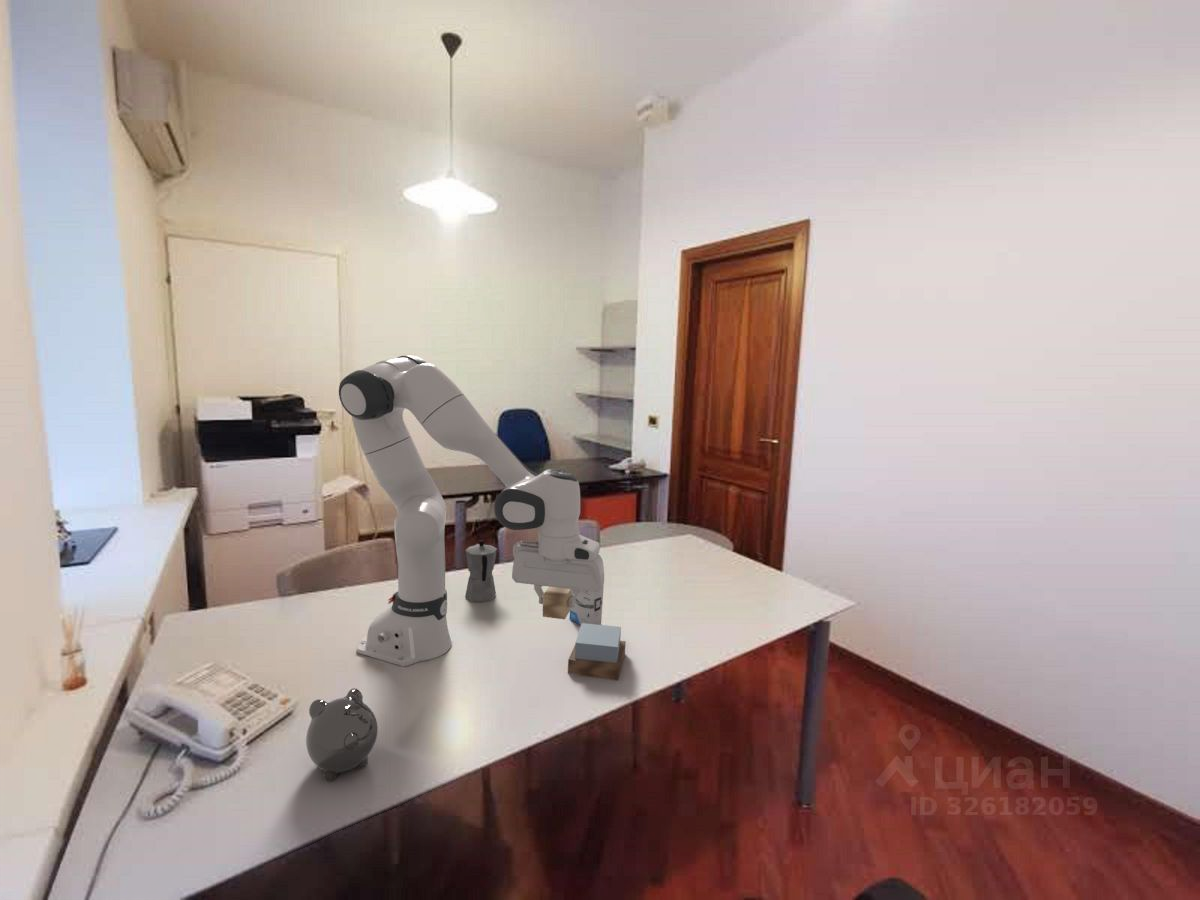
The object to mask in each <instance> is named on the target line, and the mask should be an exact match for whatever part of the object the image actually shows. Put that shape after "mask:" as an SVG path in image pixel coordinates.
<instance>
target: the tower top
mask: <svg viewBox="0 0 1200 900" xmlns="http://www.w3.org/2000/svg"><path fill="white" fill-rule="evenodd" d="M621 633H622V626H614V625H607V624H606V625H604V624H601V625H597V624H587V623H581V625H580V628H579V631H578V634H577V637H576V640H575V644H574V646H575V659H584V660H594V661H603V662H612V663H617V659H618V653H619V646H620V641H621V637H622V635H621Z"/></svg>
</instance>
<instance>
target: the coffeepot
mask: <svg viewBox="0 0 1200 900" xmlns="http://www.w3.org/2000/svg"><path fill="white" fill-rule="evenodd" d="M497 551H498V548H497V547H495V546H493V545H491V544H485V540H484V539H480V540H478V543H476V544H475V545H471V546H468V547H467V548H466V549H465V556H466V562H467V569H468V572H469V577H468V580H467V586H466V591H465V596H464V597H465V598H466V599H467V600H468V601H470V602H474V603H484V602H489V601H492V600H494V598H495V597H496V594H497V593H496V585H495V581H494V574H493V570H494V569H495V568H494V567H495V561H496V557H497Z"/></svg>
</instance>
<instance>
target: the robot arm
mask: <svg viewBox="0 0 1200 900" xmlns="http://www.w3.org/2000/svg"><path fill="white" fill-rule="evenodd" d="M338 397H339V401H340V403H341V406H342V407H343V409H344V410H345V411H346V412H347V413H348V415H350V416H351V420H352V424H353V428H354V431H355V435H356V438H357V440H358V443H359V445H360V448H361V450H362V453H363V455H364V457H365V459H366V461H367V463H368V465H369V467H370V469H371V471H372V473H373V476H374V477H375V480H376V481H377V483H378V486H379V487H381V488H382V490H383V491H385V493H386V494H387V497H388V498H389V499H390V500H391V502H392V504H393V505H394V507H395V509H396V511H397V514H396V517H395V519H394V523H393V526H394V527H393V528H394V541H395V550H396V551H395V552H396V557H397V558H396V559H397V581H398V583H397V584H398V585H397V586H398V588H397V589H398V590H397V591H396V592H395V593H393V594H392V596H391V597H389V598H388V599H387V600H388V603H387V604H388V605H389V604H392V605H391V606H390V607H388V608H387V609H386V610H384V611H383V612H382V613H380V614H378V616H376V617H375V618H374V619H373V620H372V622H371V623H370V625H369V626H368V629H367V634H366V635H364V636H363V637H362V638H361V639H360V640H359V642H358V644H357V648H356V653H358V654H360V655H364V656H368V657H371V658H373V659H378V660H381V661H385V662H388V663H391V664H394V665H398V666H401V667H406V666H410V665H412V664H415V663H419V662H423V661H427V660H432V659H435V658H437V657H440V656H442V655H443V654H445V653H447V652H448V651H449V650H450V648H451V647H452V639H451V636H450V633H449V628H448V621H447V620H448V619H447V613H448V592H447V590H446V553H445V551H446V549H445V547H446V546H445V526H446V517H447V504H446V502H445V500H444V497H443V496H442V494H441V492H440V490H439V488H438V487H437V485H436V483H435V482H434V479H433V478H432V476H431V475H430V472H429V471H428V469H427V468H426V466H425V464H424V462H423V460H422V457H421V455H420V453H419V450H418V448H417V447H416V445H415V442H414V440H413V438H412V435H411V433H410V431H409V428H408V427H407V426H406V423H405V421H404V417H403V415H404V411H405V409H406V410H408V411H409V412H411V414H412V415H413V416H414V417H415V419H416V420H417V421H418V422H419V424H420V425H421V426H422V427H423V429H424V430H425V432H426V433H427V434H428V435H429V436H430V437H431V438H432V439H433V440H434V441H435V442H437V444H438V445H440V446H441V447H442V448H444V449H446V450H449V451H456V452H461V453H465V454H470V455H472V456H475V457H476V458H478V459H480V460H481V461H482V462H483V463H485V465H486V466H487V467H488V468H489V469H490V471H492V472H493V473H494V474H495V476H496V477H497V478H498V479H499V480H500V481H501V482H502V483H503V485H505V488H504V489H503V490H502V491H500V493H499V494H498V495H497V496H496V498H495V500H494V505H493V511H494V515H495V518H496V520H497V522H499V523H500V525H502V526H503V527H504V528H506V529H508V530H510V531H511V530H512V531H524V530H533V529H538V541H526V540H519V541H518V542H516V543H514V545H513V547H512V556H513V558H514V559H513V565H512V570H511V571H512V573H511V578H512V580H513V581H514V582H515V583H517V584H518V583H519V584H525V585H533V589H534V591H535V593H536V595H537V597H538V603H539V605H543V594H544V593H545V592H544V590H543V588H542V587H558V588H566V589H573V594H575V595H574V596H573V597H569V599H568V600H567V603H568V604H567V607H571V608H574V607H575V603H576V598H577V596H578V595H579V593H580V591H581V590H583V591H591V592H599V591H600V590H601V589H602V587H603V586H604V584H605V566H604V561H603V558H602V557H601V555H600V554H599V553H600V548H601V545H600V542H598V541H595V540H593V539H591V538H588V537H586V536H584V535H581V534H580V526H579V517H580V515H581V488H580V484H579V480H578V478H577V477H576V476H575V475H574V474H572V473H571V472H569V471H565V470H562V469H557V468H556V469H555V468H549V469H545V470H544V471H542V472H541V473H539V474H538V473H536V472H534V471H533V470H532V469H530V468H528V467H527V466H526V465H525V464H524V462H522V461H521V459H519V458H518V456H517V455H515V453H514V451H512V450H511V449H510V448H509V447H508V446H507V444H506V443H505V442H504V441H503V439H501V438H500V436H499V435H497V433H495V432H494V430H493V429H492V428H491V427H490V425H488V423H487V422H486V421H485V419H484V418H483V417H482V416H481V414H480V413H479V412H478V411H477V409H476V408H475V407H474V405H473V404H472V403H471V401H470V400H469V399H468V398H467V396H466V395H465V394H464V392H462V390H461V389H460V388H459V387H458V386H457V385H456V383H454V381H453V380H452V379H451V378H449V376H448V375H446V374H445V373H444V372H443V371H442V370H441V369H440V368H438V367H437V366H436V365H435V364H431V363H428V362H426V361H425V360H424V359H423V358H421V357H419V356H415V355H401V356H397V357H396V358H395V357H394V358H389V359H384V360H381V361H377V362H376V363H374V364H371V365H369V366H366V367H364V368H362V369H358V370H355V371H353V372H351V373H349V374H348V375H346V376H345V377H344V378H342V380H341V381H340V382H339V386H338Z"/></svg>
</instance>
